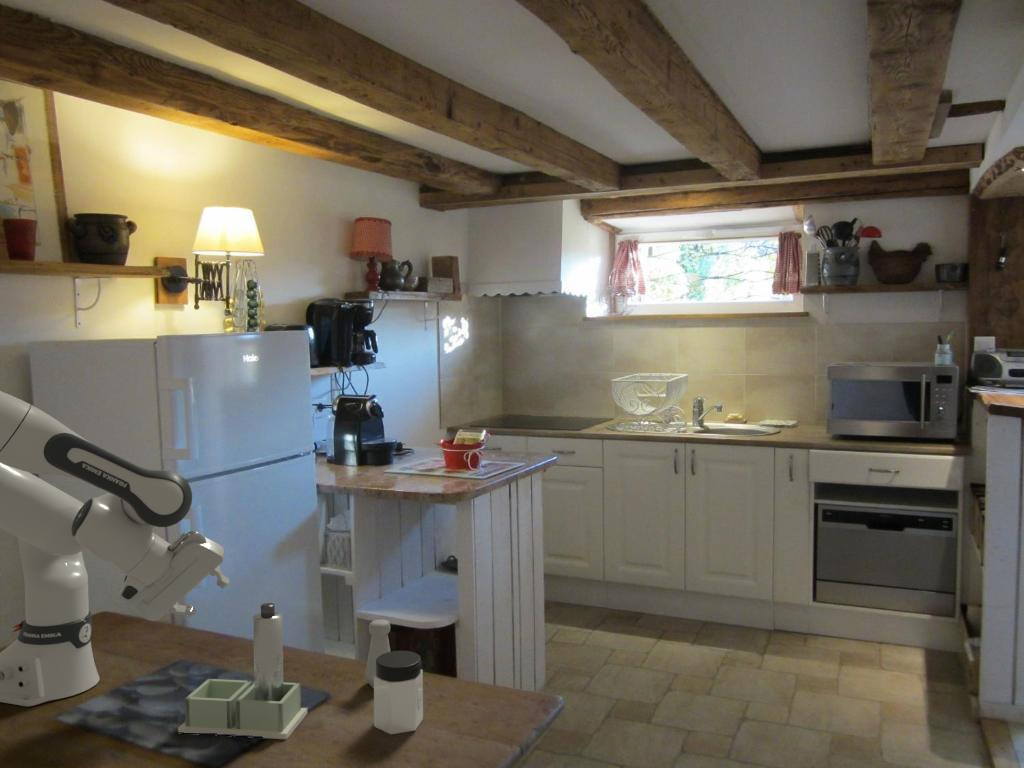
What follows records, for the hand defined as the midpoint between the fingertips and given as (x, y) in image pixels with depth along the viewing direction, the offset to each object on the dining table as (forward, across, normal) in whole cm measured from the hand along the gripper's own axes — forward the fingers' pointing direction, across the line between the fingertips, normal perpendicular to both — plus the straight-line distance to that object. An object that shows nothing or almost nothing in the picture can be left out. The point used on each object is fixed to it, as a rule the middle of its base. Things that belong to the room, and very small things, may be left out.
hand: (210, 598), depth 160 cm
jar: (+31, -18, +28) cm, 46 cm away
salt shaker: (+34, -12, +11) cm, 38 cm away
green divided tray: (+13, +2, +22) cm, 26 cm away
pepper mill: (+15, -2, +23) cm, 28 cm away
